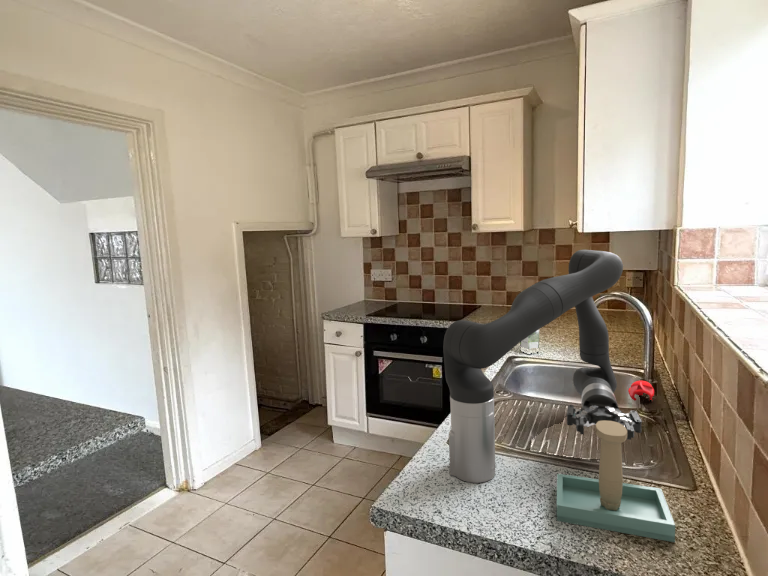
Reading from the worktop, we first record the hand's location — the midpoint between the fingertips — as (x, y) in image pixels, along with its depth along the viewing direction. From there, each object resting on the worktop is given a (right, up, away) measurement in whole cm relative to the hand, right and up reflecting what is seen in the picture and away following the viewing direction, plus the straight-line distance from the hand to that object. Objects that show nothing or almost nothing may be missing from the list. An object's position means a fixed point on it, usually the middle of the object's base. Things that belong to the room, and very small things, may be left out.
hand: (605, 432), depth 89 cm
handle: (-3, -11, -8) cm, 14 cm away
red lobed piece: (+32, -4, +43) cm, 54 cm away
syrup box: (+18, +1, +99) cm, 100 cm away
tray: (-3, -12, -8) cm, 15 cm away
